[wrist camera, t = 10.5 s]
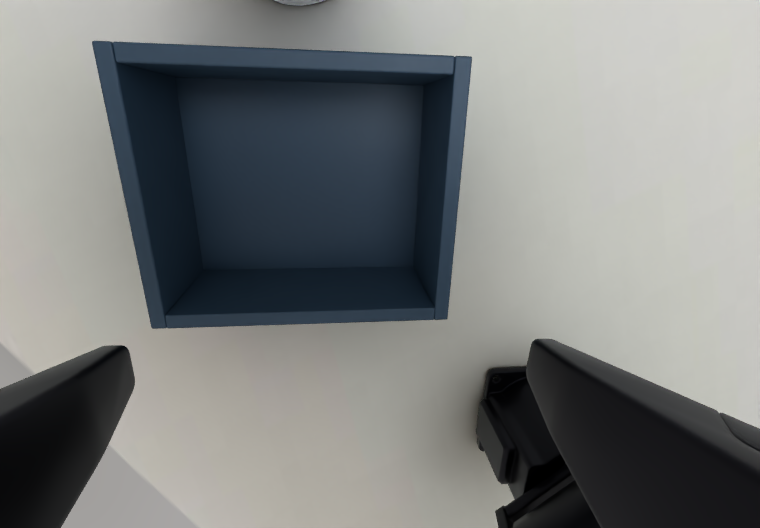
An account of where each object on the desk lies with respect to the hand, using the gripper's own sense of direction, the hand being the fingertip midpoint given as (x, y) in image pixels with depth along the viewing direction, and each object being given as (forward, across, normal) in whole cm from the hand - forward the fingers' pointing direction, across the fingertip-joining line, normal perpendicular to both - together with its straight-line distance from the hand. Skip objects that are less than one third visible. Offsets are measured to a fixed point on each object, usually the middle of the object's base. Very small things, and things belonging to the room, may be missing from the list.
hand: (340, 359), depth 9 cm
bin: (+13, +2, -2) cm, 13 cm away
